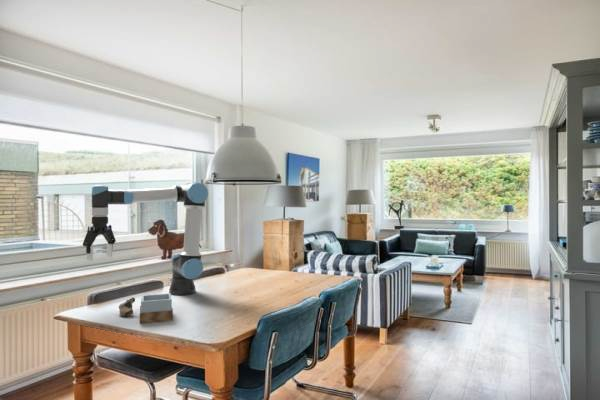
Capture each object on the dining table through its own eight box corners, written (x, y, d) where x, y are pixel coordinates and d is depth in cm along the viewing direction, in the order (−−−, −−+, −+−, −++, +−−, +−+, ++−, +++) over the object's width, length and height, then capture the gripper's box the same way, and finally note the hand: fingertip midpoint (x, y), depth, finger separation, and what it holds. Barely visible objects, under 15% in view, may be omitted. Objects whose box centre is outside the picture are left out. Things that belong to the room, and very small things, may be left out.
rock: (144, 311, 200) (137, 295, 205) (133, 308, 194) (126, 292, 199) (130, 323, 200) (123, 308, 205) (119, 321, 194) (112, 304, 199)
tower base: (171, 313, 202) (171, 303, 202) (172, 321, 189) (172, 310, 189) (140, 316, 197) (140, 305, 197) (139, 324, 184) (139, 313, 184)
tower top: (170, 303, 202) (170, 293, 202) (171, 310, 189) (171, 299, 189) (141, 306, 197) (141, 295, 197) (140, 312, 185) (140, 301, 185)
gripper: (111, 215, 224) (111, 254, 224) (74, 217, 200) (74, 261, 200) (123, 215, 222) (122, 255, 222) (87, 217, 198) (87, 261, 198)
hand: (99, 258), depth 211 cm, fingers open, 13 cm apart
